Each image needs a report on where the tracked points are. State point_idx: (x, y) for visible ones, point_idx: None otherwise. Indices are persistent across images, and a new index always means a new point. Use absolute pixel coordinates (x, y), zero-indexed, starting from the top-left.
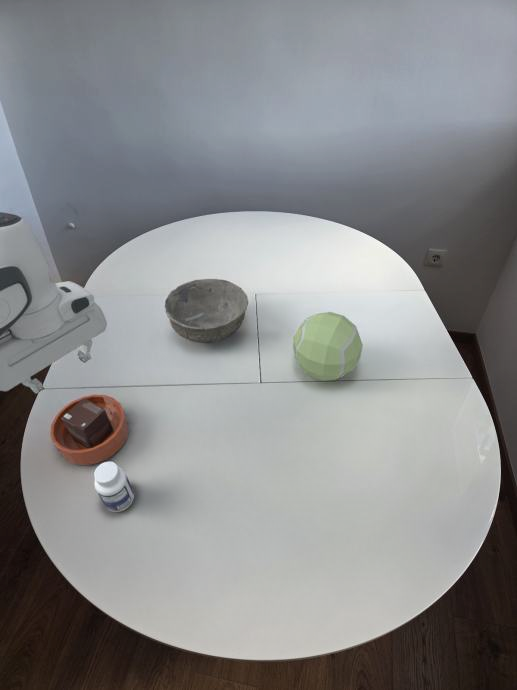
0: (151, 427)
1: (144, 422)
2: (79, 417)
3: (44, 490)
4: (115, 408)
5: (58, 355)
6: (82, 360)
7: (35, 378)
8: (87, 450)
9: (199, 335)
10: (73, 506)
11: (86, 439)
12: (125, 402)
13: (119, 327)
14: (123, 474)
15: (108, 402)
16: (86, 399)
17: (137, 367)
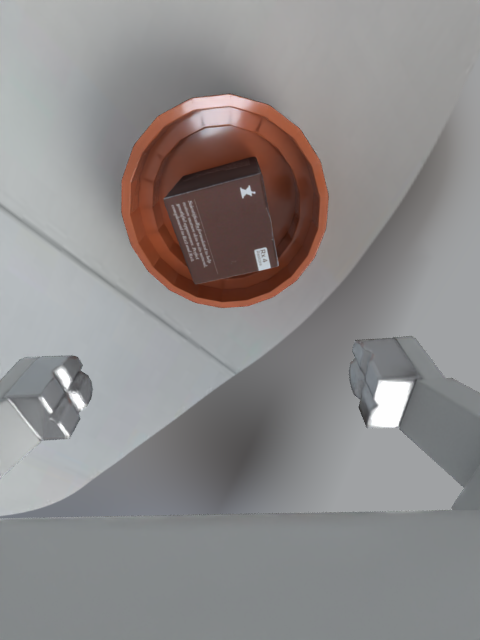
0: (91, 103)
1: (103, 139)
2: (240, 229)
3: (396, 151)
4: (145, 223)
5: (143, 600)
6: (74, 374)
7: (370, 426)
8: (281, 119)
9: None
10: (393, 26)
11: (259, 166)
12: (122, 239)
13: None
14: None
15: (151, 249)
16: (191, 275)
17: (59, 306)
